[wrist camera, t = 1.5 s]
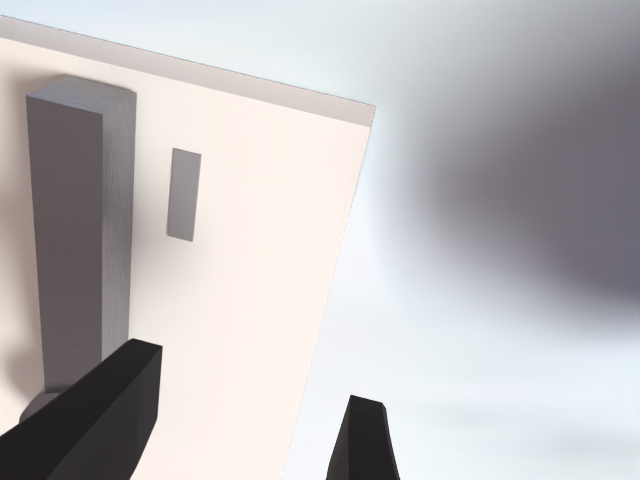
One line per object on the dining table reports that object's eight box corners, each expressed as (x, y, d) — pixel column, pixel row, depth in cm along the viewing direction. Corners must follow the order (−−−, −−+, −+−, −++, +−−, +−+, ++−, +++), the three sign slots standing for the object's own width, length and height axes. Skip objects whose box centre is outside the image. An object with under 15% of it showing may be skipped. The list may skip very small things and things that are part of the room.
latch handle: (143, 454, 24) (116, 506, 22) (58, 431, 24) (24, 480, 22) (164, 99, 16) (126, 127, 14) (40, 68, 16) (-16, 91, 14)
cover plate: (277, 494, 27) (267, 535, 26) (-107, 392, 28) (-144, 425, 26) (375, 106, 18) (370, 128, 16) (-216, -37, 18) (-286, -31, 16)
